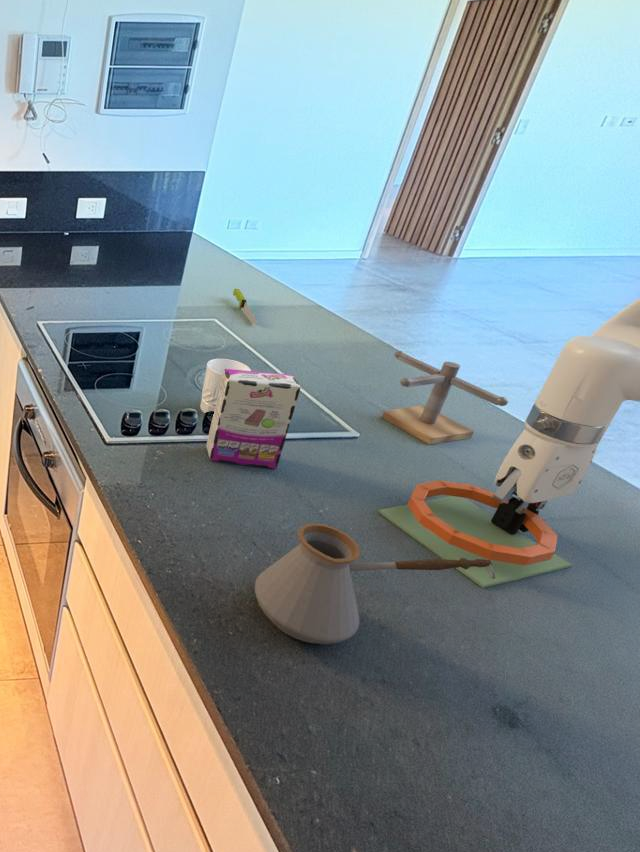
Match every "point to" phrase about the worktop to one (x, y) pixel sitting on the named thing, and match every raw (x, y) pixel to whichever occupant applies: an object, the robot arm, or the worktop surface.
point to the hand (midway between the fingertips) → (509, 526)
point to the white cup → (216, 380)
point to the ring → (472, 544)
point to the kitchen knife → (244, 305)
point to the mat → (476, 525)
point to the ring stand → (435, 403)
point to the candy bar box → (252, 417)
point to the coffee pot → (326, 584)
